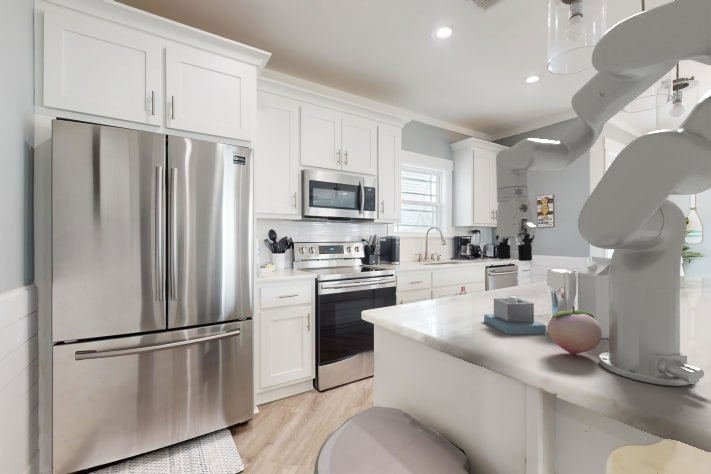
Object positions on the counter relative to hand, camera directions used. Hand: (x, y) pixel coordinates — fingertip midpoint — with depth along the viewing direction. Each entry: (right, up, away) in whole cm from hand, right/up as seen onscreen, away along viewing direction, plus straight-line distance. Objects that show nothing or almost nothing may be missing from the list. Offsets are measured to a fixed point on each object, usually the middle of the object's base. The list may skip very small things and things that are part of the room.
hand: (514, 259), depth 84 cm
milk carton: (+18, -18, -6) cm, 27 cm away
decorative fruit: (+3, -18, -20) cm, 27 cm away
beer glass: (+13, -18, 0) cm, 22 cm away
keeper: (0, -18, +1) cm, 18 cm away
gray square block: (0, -16, +1) cm, 16 cm away
